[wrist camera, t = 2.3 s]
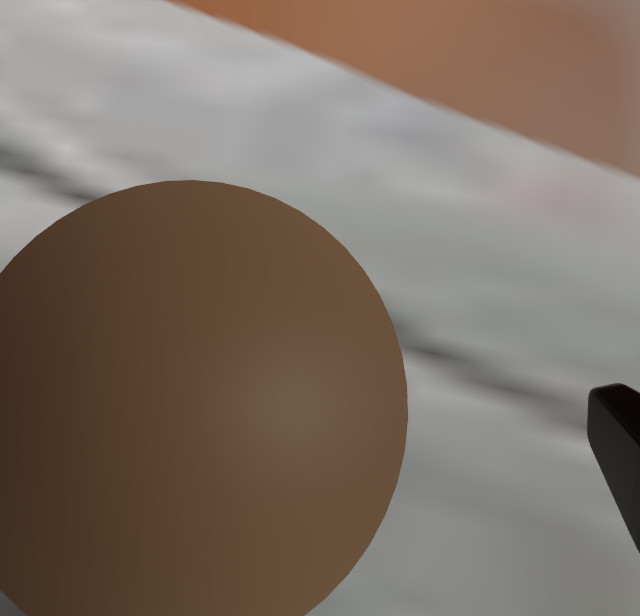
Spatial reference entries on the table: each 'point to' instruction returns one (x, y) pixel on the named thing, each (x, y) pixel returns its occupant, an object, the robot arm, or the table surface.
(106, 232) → the walnut pin
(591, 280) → the table surface
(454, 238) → the table surface
